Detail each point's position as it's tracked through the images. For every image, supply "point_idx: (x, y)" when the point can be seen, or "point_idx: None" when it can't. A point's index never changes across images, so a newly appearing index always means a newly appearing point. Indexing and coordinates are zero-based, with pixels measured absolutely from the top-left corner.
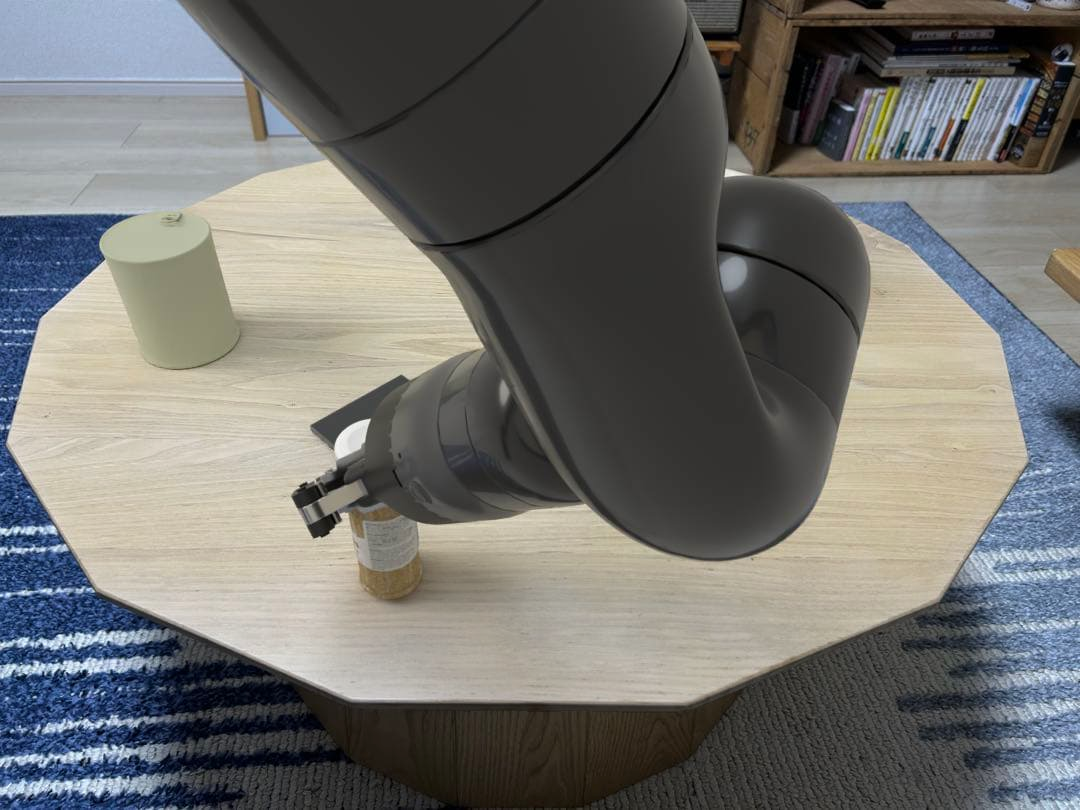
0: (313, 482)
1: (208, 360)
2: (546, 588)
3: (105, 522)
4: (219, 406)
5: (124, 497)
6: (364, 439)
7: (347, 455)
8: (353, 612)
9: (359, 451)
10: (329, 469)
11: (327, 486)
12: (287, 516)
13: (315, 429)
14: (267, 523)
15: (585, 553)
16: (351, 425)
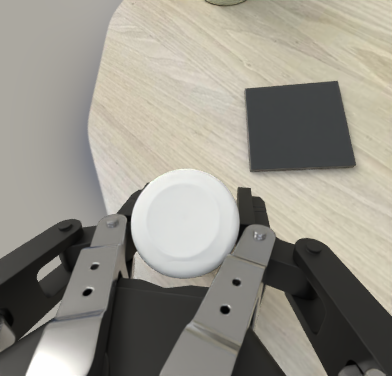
0: (37, 258)
1: (226, 3)
2: (295, 345)
3: (111, 89)
4: (209, 42)
5: (128, 78)
6: (178, 207)
7: (72, 274)
8: None
9: (60, 310)
10: (114, 218)
11: (89, 245)
12: (187, 148)
13: (245, 94)
14: (174, 145)
15: None
16: (183, 171)
